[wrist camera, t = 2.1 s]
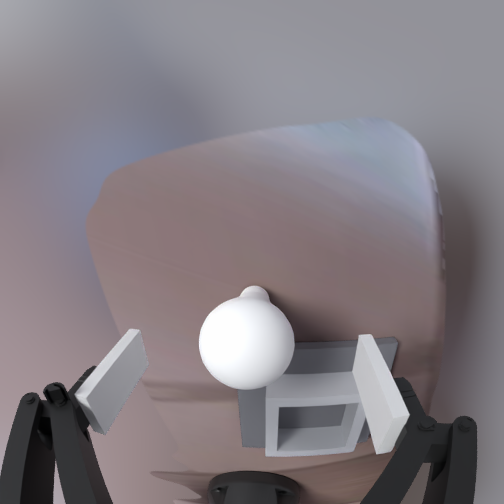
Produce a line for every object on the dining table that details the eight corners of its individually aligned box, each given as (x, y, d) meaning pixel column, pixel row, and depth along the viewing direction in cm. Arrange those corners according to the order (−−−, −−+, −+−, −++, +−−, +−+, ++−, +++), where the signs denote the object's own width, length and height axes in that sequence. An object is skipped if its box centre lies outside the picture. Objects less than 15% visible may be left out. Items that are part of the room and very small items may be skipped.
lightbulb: (295, 268, 25) (308, 335, 14) (282, 329, 26) (284, 414, 15) (225, 257, 25) (189, 315, 14) (218, 319, 26) (187, 398, 16)
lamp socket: (364, 435, 29) (371, 461, 25) (243, 440, 31) (239, 467, 26) (393, 336, 25) (410, 362, 21) (235, 342, 27) (228, 371, 22)
